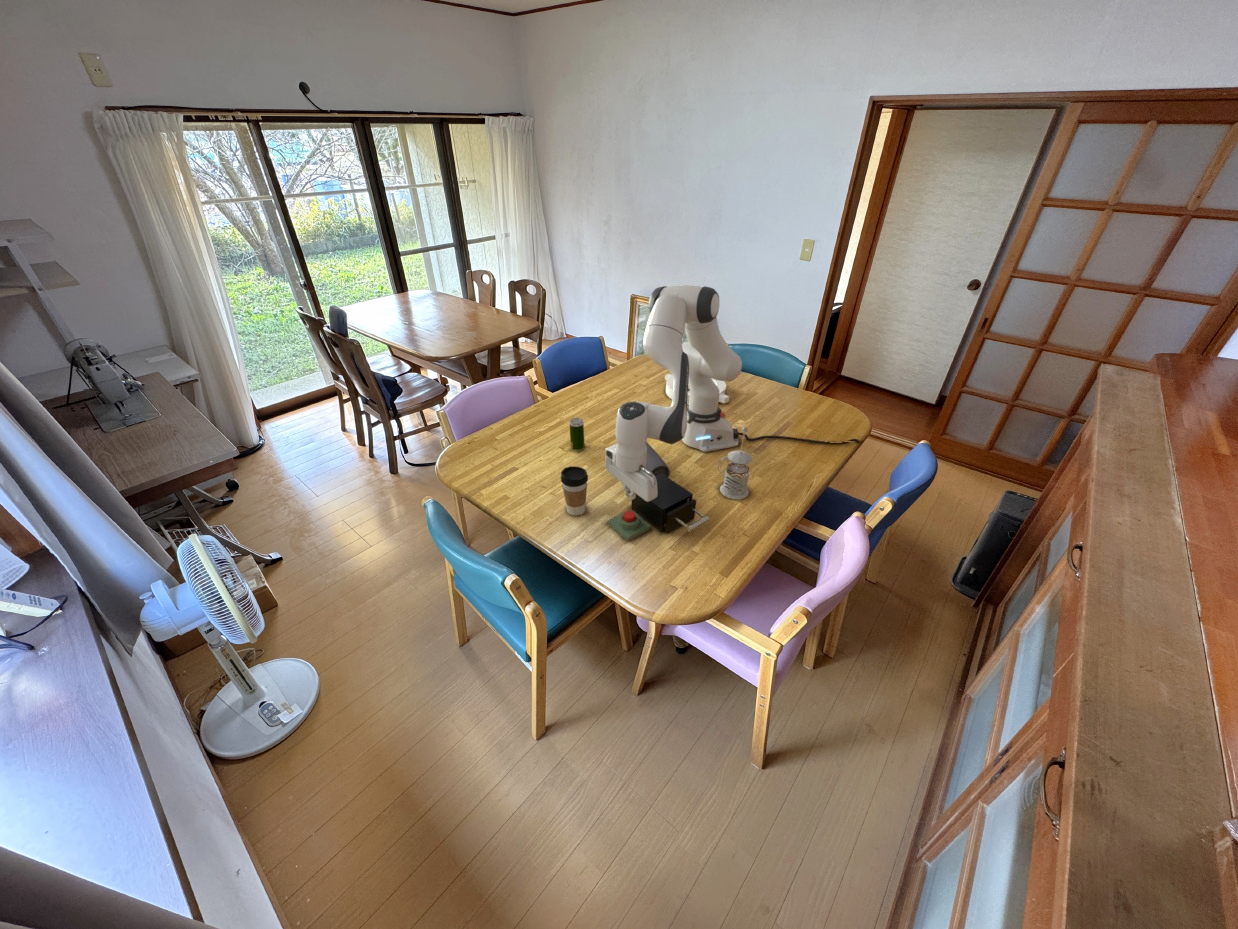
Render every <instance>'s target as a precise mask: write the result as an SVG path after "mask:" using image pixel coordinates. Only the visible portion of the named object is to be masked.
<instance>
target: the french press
mask: <svg viewBox="0 0 1238 929" xmlns="http://www.w3.org/2000/svg"><path fill="white" fill-rule="evenodd" d="M748 430H749V428H748V427H747V426H743V427H742V428H741V432H742V433H744V434H746V433H747V432H748ZM744 438H745V436H744V435H743V436H742V442H741V448H740V450H732V451H730V452H728V453H727V455H724V456H722V458H721V459H720V460H719V461H718V463H717V470H718V473H719V474H720V475H721V476H722V477H723V482H722V484H721V485H720V487H719V491H720V493H721V494H722V496H724V497H726V498H728V499H730V500H731V499H732V500H742V499H745V498H747V497H748V496H749V493H750V492H749V489H748V482H749V477H750V467H749V464H750V463H752V462H753V455H751V454H750V453H748V452H747V451H744V450H743V444H744V440H745V439H744ZM722 460H726V462H729V461H730V462H729V463H728V464H727V466H726V471H724V470H723V469H722V465H721V464H722ZM719 467H720V468H719ZM721 471H722V472H721ZM722 473H723V474H724V475H723V474H722Z"/></svg>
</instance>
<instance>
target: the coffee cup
mask: <svg viewBox="0 0 1238 929" xmlns="http://www.w3.org/2000/svg"><path fill="white" fill-rule="evenodd" d="M588 480H589V475H588V472H587V470H586V469H585V468H584V467H582V466H581V467H580V466H567V467H564V468H563V469H562V470H561V471H560V481H561V483H562V490H563V496H564V502H565V506H566V511H567V514H569V515H571V516H580V515H583V514H584V513H585V512H586V503H587V502H586V501H587V490H588Z"/></svg>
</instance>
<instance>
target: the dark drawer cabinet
mask: <svg viewBox="0 0 1238 929" xmlns="http://www.w3.org/2000/svg"><path fill="white" fill-rule="evenodd" d="M655 477H656V480H657V490H658V495H657V497H656V498H655V499H653V500H651V501H649V502H647V501H645V500H644V499H642V498H641V497H640V496H639V495H637V494H636V498H635V499H633V500H631V504H630V507H631V508H630V509H631V510H632V511H633V512H635V513H637V514H638V515H639V517H641V518H642V519H643V520H644V521H646V522H647V523H648V524H649V525H651V526H652V527H654V528H655V529H656V530H657V531H658V532H660V533H661V534H662V533H663V532H665V527H663V525H664V512H665V510H667V509H669V508H671V507H673V506H675V505H677V504H679V503H681V502H683V501H684V500H686V499H688V498H689V501H691V500H693V499H694V493H692V492H691V491H689V490H688V489H687V488H685V487H684V486H682V485H680V484H679V483H677V482H676V481H674V480H673V479H671V478H670V477H669V478H668V477H667V476H665V475H664V474H662V473H660V474H658V475H656V476H655Z"/></svg>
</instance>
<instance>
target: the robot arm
mask: <svg viewBox="0 0 1238 929" xmlns="http://www.w3.org/2000/svg"><path fill="white" fill-rule="evenodd" d="M719 310H720V295H719V293H718V292H717V291H716V289H715V288H712V287H710V286H707V285H706V286H699V285H690V284H689V285H685V284H684V285H674V286H673V285H672V286H667V285H663V286H659V287H656V288H655V289H653V291H652V292H651V294H650V296H649V299H648V312H649V315H648V319H647V323H646V325H645V330H644V334H643V339H642V347H643V351H644V352H645V354H646V356H647V357H648V359H650V360H651V361H652V362H653V363H655V364H656V365H658V366H659V367H661V368H663V369H665V371H667V372H669V373H670V374H672V375H673V394H672V399H671V404H670V406H663V405H658V404H653V403H649V402H644V401H629V402H625V403H623V404H622V405H620V406H619V408H618V410H617V414H616V420H615V430H614V431H615V435H614V436H615V440H616V443H614V444H613V445H610V446H608V447H606V448H604V454H605V456H604V467H605V471H606V472H607V473H608V474H609V475H610V476H612V477H614V478H615V479H616V480H618V481H619V482H620V483H621V484H622V485H621V486H622V487H623V489H624V496H626V497H627V498H628V499H630V500H631V501H632V500H633V499H635V498H636V494H637V495H639V496H640V497H641V498H642V499H644V500H645V501H647V502H649V501H651V500H653V499H655V498H656V497H657V495H658V490H657V480H656V477H655V476H654V475H653V473H652V472H651V471H649V470H648V469H647V468H645V466H646V463H647V446H646V442H647V440H648V439H652V440H657V441H660V442H663V443H666V444H669V445H673V444H677V443H679V442H680V441H682V443H683V444H684V445H686V446H688V447H690V448H693V449H698V450H699V451H701V452H704V453H707V452H708V453H709V452H713V451H719V450H723V449H729V448H734V447H738V445H739V436H741V437H743V435H744V438H745V439H746V441H749V442H752V441H753V442H754V441H759V440H762V439H783V440H792V441H799V442H806V443H814V444H823V445H824V444H825V445H845V444H849V443H850V442H844V441H841V442H842V443H830V442H831V441H827V442H825V441H824V440H815V439H807V438H799V437H794V436H793V437H792V436H786V435H785V436H784V435H761V436H758V437H753V438H750V437H749V436H748V434H746V433H744V432H739V430H738V428H736V427H735V428H733V425H732V424H731V423H730V422H729V420H728V419H726V416H727V414H726V413H725V411H723V410H722V409H721V407H719V402H718V401H719V389H718V387H717V386H716V384H715V383H714V382H713V381H712V379H711V378H713V379H716V380H719V381H724V382H733V381H735V380H736V379H737V378H738V377H739V376H740V374H741V372H742V369H743V361H742V358H741V357H740V355H739V354H737V353H736V352H735V351H734V350H733V349H732V348H731V347H730V345H728V343H727V342H726V340H725V339H724V337H723V335H722V333H721V331H720V326H719V322H718V318H717V317H718V314H719ZM684 333H685V336H686V340H685V341H684V342H683V337H684ZM688 383H689V389H688ZM688 391H690V396H689V405H687V397H688ZM847 441H852V442H856V443H858V444H859V443H860V441H859V439H857V438H851V439H847Z"/></svg>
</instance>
